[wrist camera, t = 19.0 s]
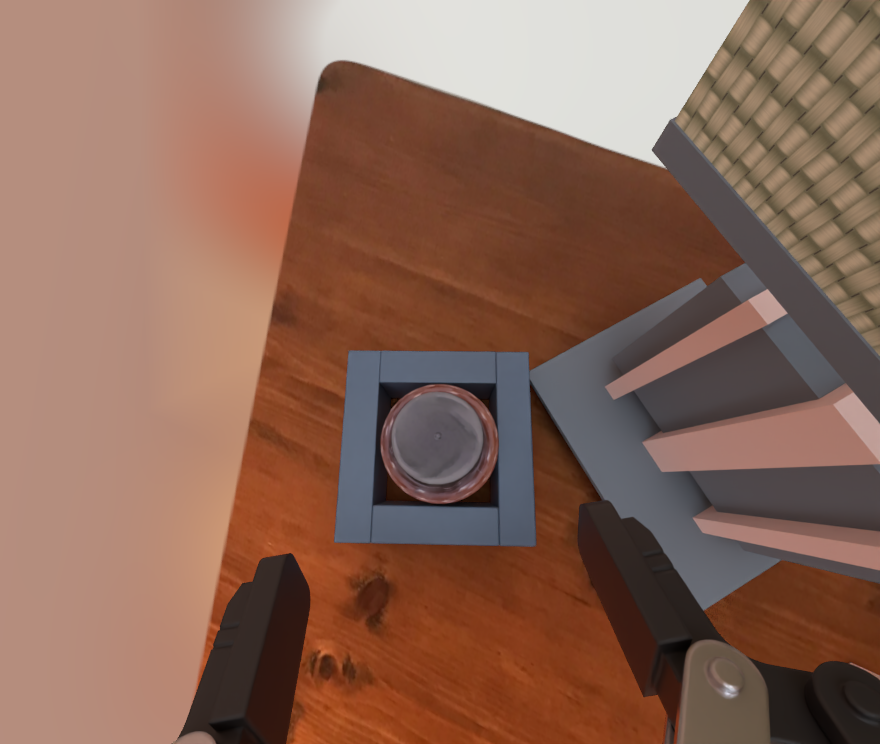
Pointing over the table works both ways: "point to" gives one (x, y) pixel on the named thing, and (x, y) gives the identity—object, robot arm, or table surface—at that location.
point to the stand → (419, 521)
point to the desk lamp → (755, 319)
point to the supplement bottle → (439, 443)
